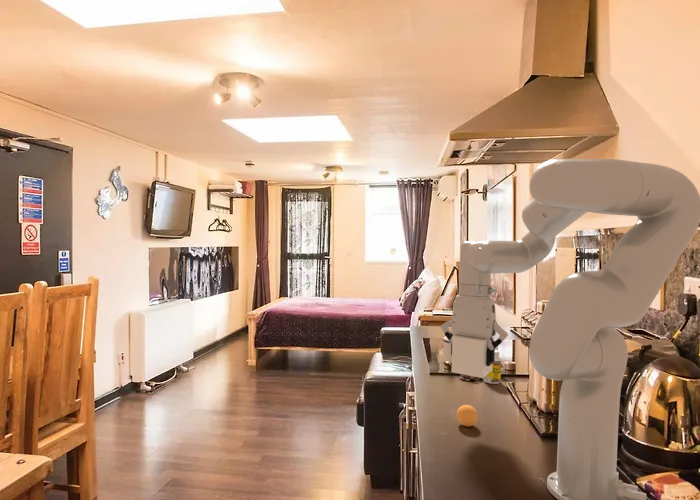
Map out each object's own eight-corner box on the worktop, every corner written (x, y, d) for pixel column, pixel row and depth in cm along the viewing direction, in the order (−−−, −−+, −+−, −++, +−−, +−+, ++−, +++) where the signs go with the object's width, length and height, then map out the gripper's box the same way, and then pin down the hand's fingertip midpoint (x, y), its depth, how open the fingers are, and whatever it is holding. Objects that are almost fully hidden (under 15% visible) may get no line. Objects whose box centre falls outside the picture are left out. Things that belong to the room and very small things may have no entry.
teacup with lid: (467, 367, 160) (468, 335, 160) (442, 365, 162) (443, 333, 161) (466, 358, 172) (467, 328, 171) (442, 356, 173) (443, 327, 173)
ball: (471, 426, 105) (476, 431, 109) (476, 405, 107) (482, 411, 111) (451, 419, 108) (457, 425, 112) (457, 399, 110) (463, 405, 114)
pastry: (485, 374, 153) (485, 364, 153) (480, 385, 142) (481, 374, 142) (465, 371, 156) (465, 361, 156) (458, 381, 145) (459, 370, 145)
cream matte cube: (491, 370, 111) (493, 335, 111) (482, 378, 104) (483, 341, 104) (461, 365, 115) (463, 331, 115) (451, 372, 109) (452, 336, 108)
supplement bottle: (492, 385, 140) (494, 353, 140) (479, 380, 145) (480, 349, 145) (504, 382, 143) (505, 351, 143) (490, 378, 148) (491, 347, 148)
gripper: (514, 292, 108) (512, 364, 108) (446, 287, 117) (444, 353, 118) (506, 295, 101) (504, 372, 102) (435, 289, 111) (433, 359, 111)
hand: (472, 361), depth 110 cm, fingers closed on cream matte cube, 7 cm apart
